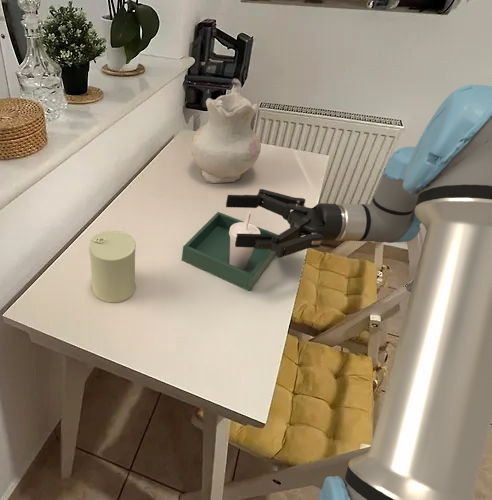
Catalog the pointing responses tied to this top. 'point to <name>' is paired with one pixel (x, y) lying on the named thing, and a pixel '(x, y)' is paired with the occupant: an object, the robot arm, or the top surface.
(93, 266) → the can
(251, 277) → the bin
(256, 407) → the top surface
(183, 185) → the top surface
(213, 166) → the ceramic pitcher
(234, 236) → the smoothie
